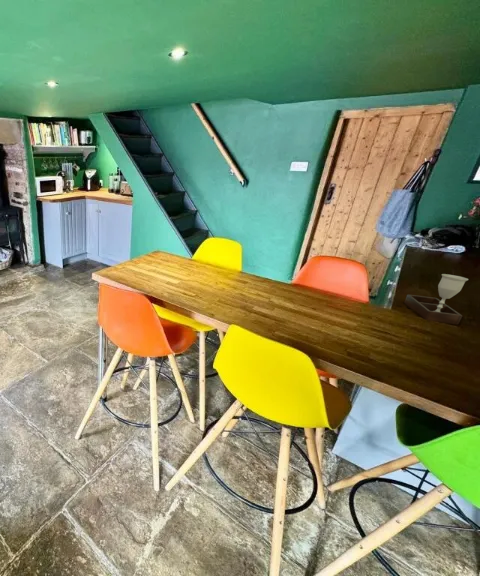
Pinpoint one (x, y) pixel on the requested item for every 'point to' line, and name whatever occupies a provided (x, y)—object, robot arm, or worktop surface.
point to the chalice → (449, 287)
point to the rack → (432, 309)
